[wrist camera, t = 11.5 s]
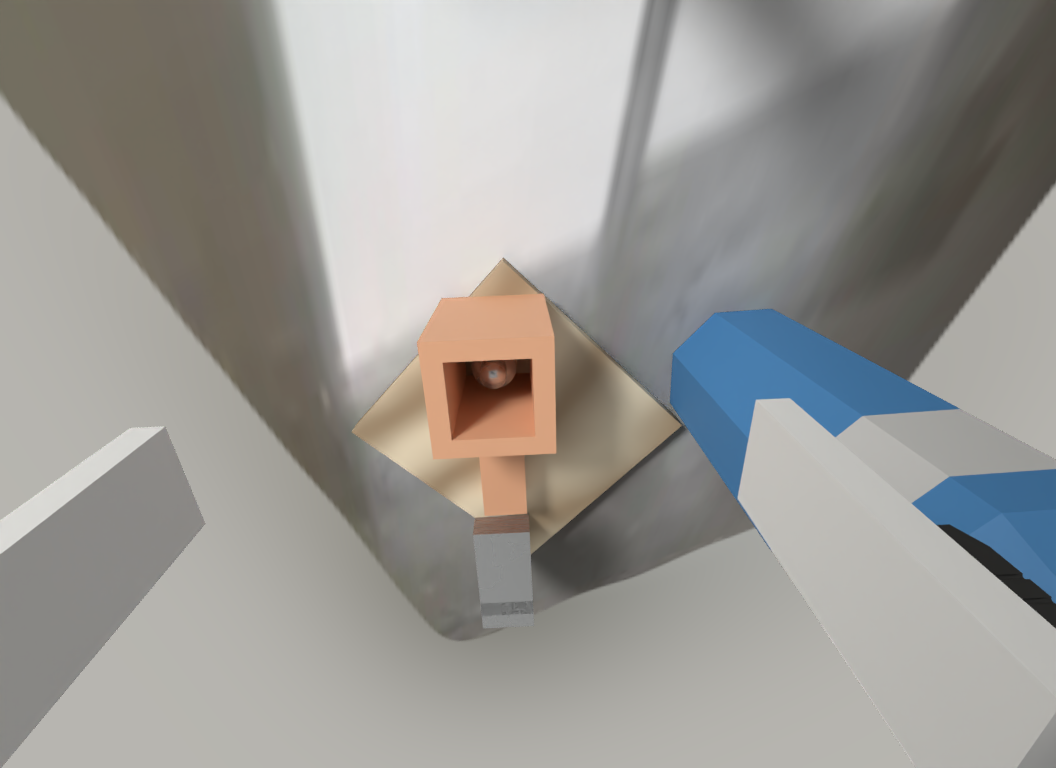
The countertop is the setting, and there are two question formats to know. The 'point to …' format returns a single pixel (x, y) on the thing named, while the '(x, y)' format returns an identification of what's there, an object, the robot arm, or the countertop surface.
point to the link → (491, 390)
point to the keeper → (504, 570)
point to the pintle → (494, 372)
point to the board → (581, 425)
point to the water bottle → (869, 431)
